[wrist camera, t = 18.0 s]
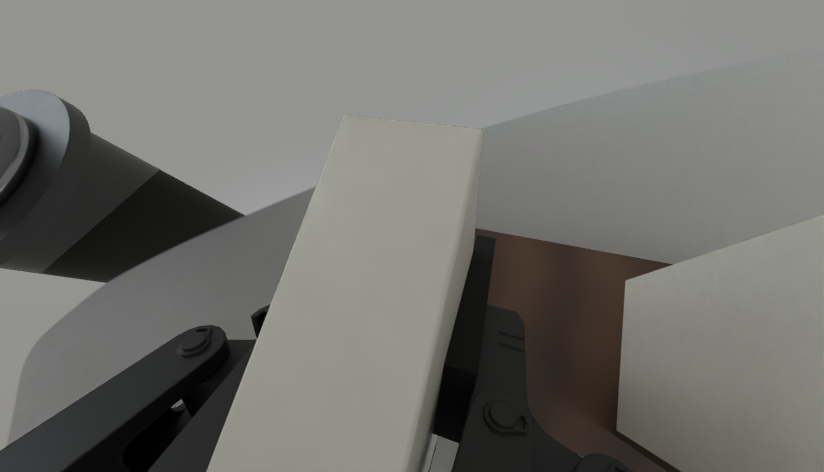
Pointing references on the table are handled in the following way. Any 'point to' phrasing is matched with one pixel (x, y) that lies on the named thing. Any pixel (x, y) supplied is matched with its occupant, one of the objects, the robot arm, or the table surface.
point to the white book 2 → (728, 358)
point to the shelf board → (570, 336)
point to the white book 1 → (362, 308)
